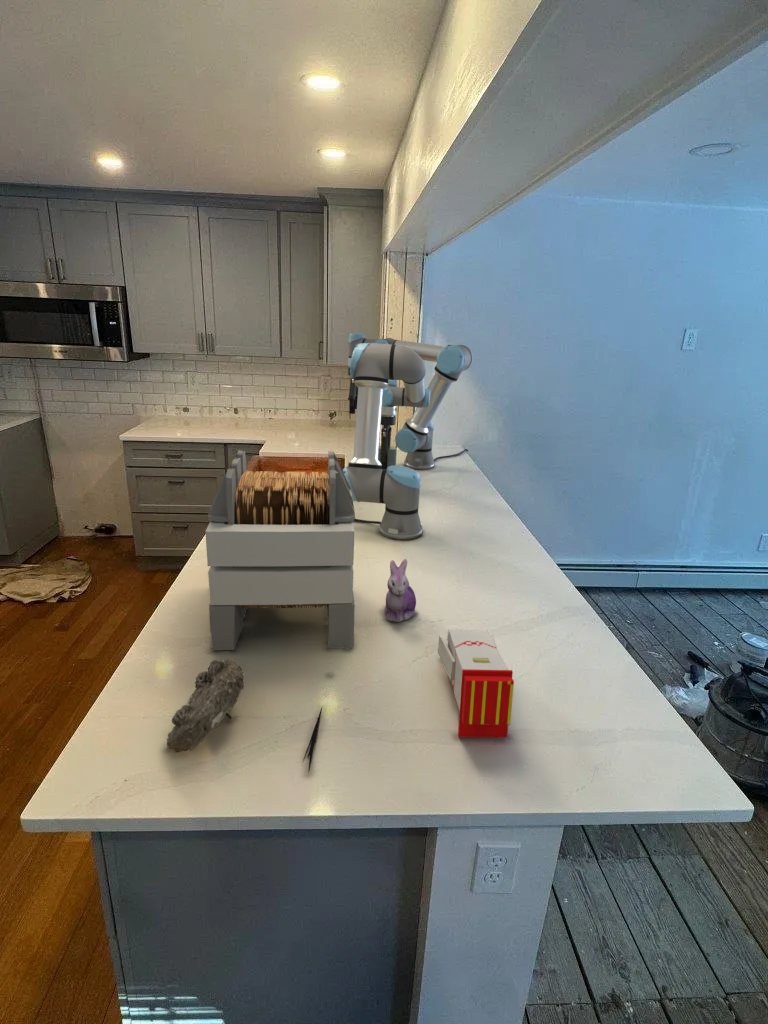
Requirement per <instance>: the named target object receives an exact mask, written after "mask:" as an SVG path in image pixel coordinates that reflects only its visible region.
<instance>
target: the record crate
mask: <svg viewBox="0 0 768 1024" xmlns="http://www.w3.org/2000/svg"><path fill="white" fill-rule="evenodd" d="M327 456H328V457H327V462H328V463H327V471H322V472H321V473H320V472H319V471H311V472H307V471H284V472H283V471H281V472H278V471H271V470H269V471H267V470H265V471H262V470H261V471H259V470H258V471H257V470H256V471H253V470H247V458H246V450H240V449H238V450H237V452H236V454H235V456H234V457H233V459H232V462H231V464H230V466H229V468H227V470H226V472H225V474H224V477H223V479H222V480H221V483H220V486H219V487H218V490H217V491H216V495H215V496H214V499H213V501H212V503H211V504H210V505H211V506H210V508H209V510H208V513H207V517H208V522H209V523H208V525H207V527H206V529H205V533H204V534H205V548H206V558H207V559H206V563H207V567H209V569H208V571H207V574H208V575H207V577H208V589H209V604H208V615H209V630H210V634H211V647H210V649H211V651H212V652H214V651H215V652H218V651H234V649H235V647H236V645H237V643H238V641H239V638H240V635H241V633H242V630H243V619H245V618H246V614H247V609H249V610H250V609H273V608H274V609H276V608H277V609H280V608H281V609H293V608H294V609H296V608H298V609H302V608H309V609H310V608H315V609H316V608H327V637H328V638H327V639H328V640H327V641H328V649H349V650H350V649H352V648H353V647H354V646H355V645H354V643H355V607H356V606H355V597H354V559H355V558H354V555H355V526H354V525H355V524H354V522H355V521H354V520H355V519H356V511H355V505H354V501H353V499H352V493H351V488H350V486H349V484H348V482H347V479H346V477H345V475H344V473H343V469H342V467H341V464H340V462H339V459H338V458H337V455H336V453H335V452H334V451H330V450H329V451H327Z"/></svg>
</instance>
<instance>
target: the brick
mask: <svg viewBox="0 0 768 1024" xmlns="http://www.w3.org/2000/svg"><path fill="white" fill-rule="evenodd" d="M397 449H398V447H397V446H390V447H388V449H387V455H388V458H387V468H388V467H389V466H396V465H397ZM380 453H381V445H379V451H378V460H379V462H380V463H381V455H380ZM382 470H387V469H382Z"/></svg>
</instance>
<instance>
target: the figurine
mask: <svg viewBox="0 0 768 1024" xmlns="http://www.w3.org/2000/svg"><path fill="white" fill-rule="evenodd" d="M407 567H408V559H406V558H404V559H403V560H402V561H401V563H400V565H399V566H398V565H397V563H396V562H395V561H394V560H393V559H391V560H390V561H389V570H390V576H389V578H388V579H387V589H388V591H387V592H386V594H385V595H386V596H385V607H384V615H385V616H386V620H387V621H391V622H395V623H400V622H402V621H406V620H409V619H410V618H411V617H413V616H414V615H415V610H416V606H417V597H416V593H415V591H414V590H413V587H411V586H410V582H409V579H408V577H407V574H406V571H407Z"/></svg>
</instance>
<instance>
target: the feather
mask: <svg viewBox="0 0 768 1024" xmlns="http://www.w3.org/2000/svg"><path fill="white" fill-rule="evenodd" d="M329 675H330V676H331V675H332V674H331V673H330V674H329ZM322 710H323V707H321V708H320V710H319V713H318V716H317V719H316V723H315V725H314V728H313V731H312V733H311V737H310V739H309V742H308V745H307V748H306V751H305V754H304V757H303V760H302V763H301V767H302V765H303V763H304V761H305V758H308V759H309V760H308V762H307V763H308V764H307V766H308V771H310V770H311V766H312V765H311V764H312V760H313V757H315V756H314V755H315V751H316V749H315V746H317V739H318V733H319V729H320V722H321V717H322V712H323V711H322ZM313 754H314V755H313ZM306 755H307V757H306Z"/></svg>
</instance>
